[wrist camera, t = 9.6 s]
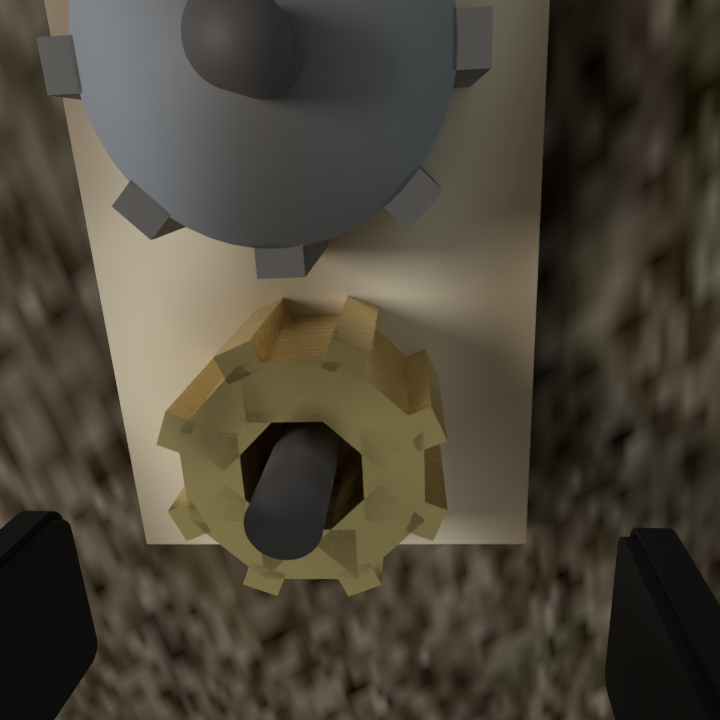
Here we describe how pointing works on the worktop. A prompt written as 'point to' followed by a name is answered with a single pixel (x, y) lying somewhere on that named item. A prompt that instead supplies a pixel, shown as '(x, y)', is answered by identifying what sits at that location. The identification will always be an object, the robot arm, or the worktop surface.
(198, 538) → the gear board
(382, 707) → the worktop surface
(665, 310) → the worktop surface
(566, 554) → the worktop surface
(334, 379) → the brass gear
